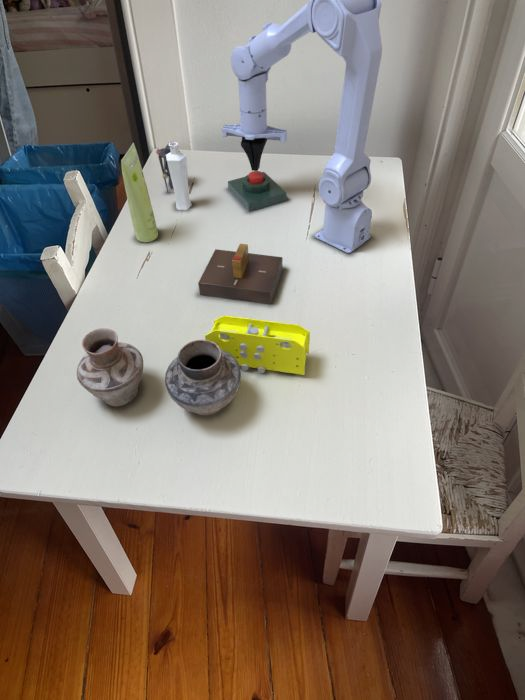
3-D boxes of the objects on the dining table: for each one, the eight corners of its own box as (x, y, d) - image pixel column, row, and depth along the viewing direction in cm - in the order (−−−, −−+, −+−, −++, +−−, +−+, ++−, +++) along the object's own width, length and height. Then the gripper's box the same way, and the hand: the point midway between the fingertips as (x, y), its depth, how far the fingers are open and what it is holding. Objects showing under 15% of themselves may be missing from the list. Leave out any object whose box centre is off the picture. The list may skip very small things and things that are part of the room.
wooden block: (241, 260, 96) (239, 242, 92) (248, 261, 95) (247, 243, 92) (233, 277, 92) (231, 259, 89) (241, 278, 92) (240, 260, 89)
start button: (266, 182, 115) (266, 175, 114) (252, 186, 114) (252, 179, 113) (259, 176, 118) (259, 169, 116) (246, 180, 116) (245, 173, 115)
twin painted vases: (102, 364, 82) (81, 312, 73) (248, 376, 79) (244, 323, 70) (76, 419, 74) (49, 368, 66) (236, 434, 72) (230, 383, 63)
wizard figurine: (165, 180, 125) (156, 133, 116) (187, 179, 125) (180, 132, 116) (162, 197, 119) (153, 149, 110) (185, 196, 119) (177, 148, 110)
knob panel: (282, 269, 98) (282, 256, 96) (270, 304, 91) (270, 291, 89) (216, 261, 101) (215, 248, 98) (200, 294, 94) (197, 282, 91)
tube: (163, 239, 107) (145, 152, 92) (142, 247, 105) (120, 160, 91) (152, 227, 110) (133, 142, 96) (132, 235, 108) (109, 149, 94)
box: (286, 200, 116) (286, 185, 113) (248, 211, 113) (248, 196, 110) (264, 179, 124) (263, 164, 121) (228, 189, 121) (226, 174, 118)
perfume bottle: (194, 201, 117) (185, 139, 106) (191, 210, 114) (181, 148, 103) (176, 200, 118) (165, 139, 107) (172, 210, 115) (160, 147, 104)
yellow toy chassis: (208, 366, 81) (202, 331, 75) (218, 342, 85) (213, 306, 78) (303, 380, 78) (305, 344, 72) (308, 354, 82) (311, 318, 76)
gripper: (215, 112, 103) (220, 173, 112) (281, 118, 100) (281, 180, 110) (225, 100, 107) (230, 159, 117) (289, 105, 104) (288, 165, 114)
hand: (255, 168), depth 114 cm, fingers closed
